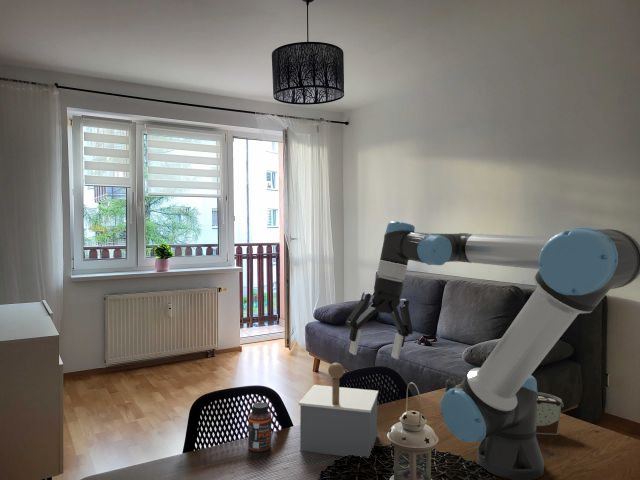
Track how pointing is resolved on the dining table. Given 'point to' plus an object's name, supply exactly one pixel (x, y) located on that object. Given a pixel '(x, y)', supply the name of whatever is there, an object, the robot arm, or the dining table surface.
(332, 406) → the lid
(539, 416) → the food container
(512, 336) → the robot arm
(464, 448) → the dining table surface
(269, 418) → the supplement bottle
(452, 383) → the salt shaker
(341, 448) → the grey box
